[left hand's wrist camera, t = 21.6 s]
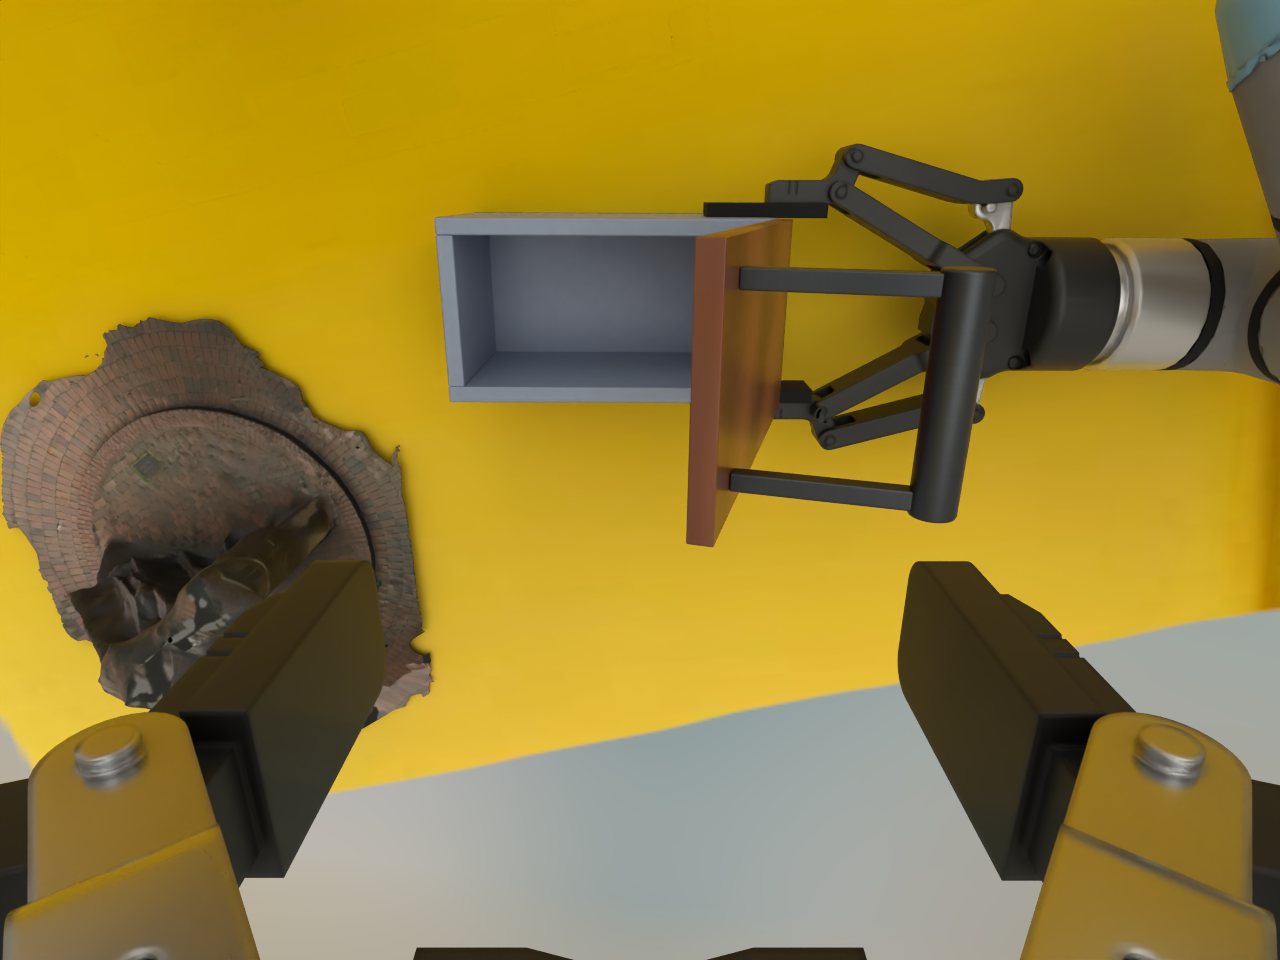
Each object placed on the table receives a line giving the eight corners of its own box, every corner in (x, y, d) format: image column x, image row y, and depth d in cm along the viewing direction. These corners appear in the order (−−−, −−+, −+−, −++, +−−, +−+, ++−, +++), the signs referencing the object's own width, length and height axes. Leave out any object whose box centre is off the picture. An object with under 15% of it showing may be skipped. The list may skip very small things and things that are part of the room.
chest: (486, 361, 52) (449, 402, 41) (476, 212, 48) (433, 216, 38) (743, 362, 52) (769, 403, 42) (751, 213, 48) (782, 218, 38)
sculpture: (496, 392, 52) (439, 470, 37) (413, 778, 64) (344, 954, 49) (1, 260, 49) (-278, 287, 34) (10, 691, 61) (-194, 851, 46)
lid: (685, 544, 25) (960, 580, 22) (695, 236, 21) (1019, 242, 19) (762, 405, 41) (925, 418, 39) (774, 219, 38) (953, 221, 36)
